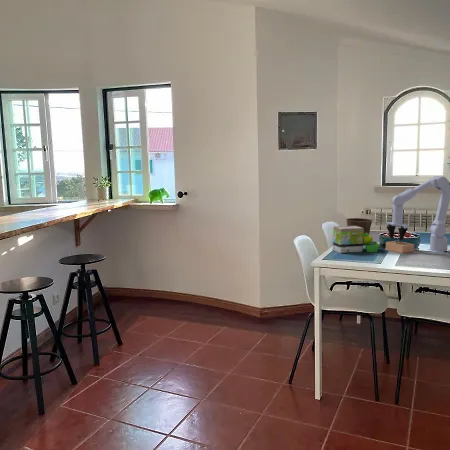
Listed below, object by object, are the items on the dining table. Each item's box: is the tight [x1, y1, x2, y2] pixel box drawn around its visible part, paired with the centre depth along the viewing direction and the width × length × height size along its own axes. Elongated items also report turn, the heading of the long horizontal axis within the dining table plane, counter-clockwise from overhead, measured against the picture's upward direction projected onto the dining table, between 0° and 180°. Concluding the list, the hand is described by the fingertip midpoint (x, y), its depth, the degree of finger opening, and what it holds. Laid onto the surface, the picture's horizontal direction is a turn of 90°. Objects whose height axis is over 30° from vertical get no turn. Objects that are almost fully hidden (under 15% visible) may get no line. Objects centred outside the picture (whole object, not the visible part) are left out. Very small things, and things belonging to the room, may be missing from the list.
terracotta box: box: [385, 240, 415, 255], centre depth 273 cm, size 9×13×5 cm
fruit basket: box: [363, 233, 380, 253], centre depth 275 cm, size 11×9×11 cm
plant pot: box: [345, 217, 373, 247], centre depth 297 cm, size 16×16×16 cm
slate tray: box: [383, 248, 421, 256], centre depth 273 cm, size 12×17×1 cm
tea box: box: [332, 225, 364, 254], centre depth 277 cm, size 15×10×15 cm, turn 105°
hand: (396, 238), depth 275 cm, fingers open, 7 cm apart
